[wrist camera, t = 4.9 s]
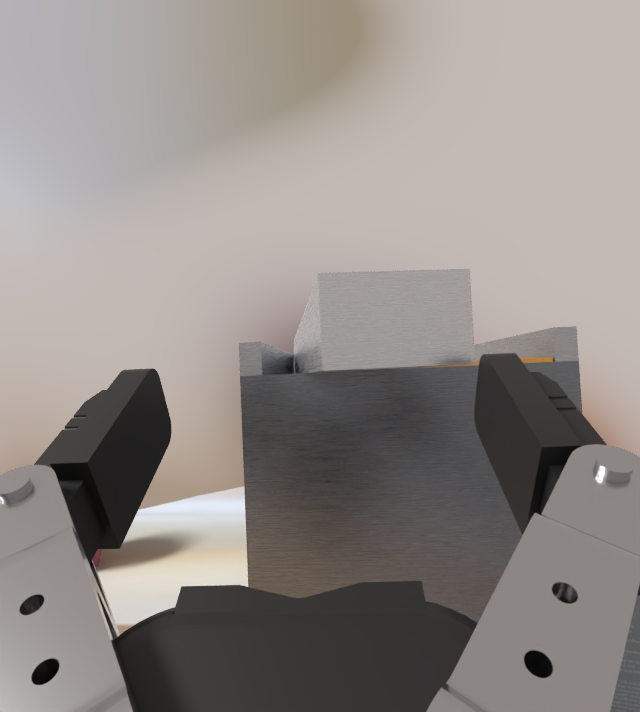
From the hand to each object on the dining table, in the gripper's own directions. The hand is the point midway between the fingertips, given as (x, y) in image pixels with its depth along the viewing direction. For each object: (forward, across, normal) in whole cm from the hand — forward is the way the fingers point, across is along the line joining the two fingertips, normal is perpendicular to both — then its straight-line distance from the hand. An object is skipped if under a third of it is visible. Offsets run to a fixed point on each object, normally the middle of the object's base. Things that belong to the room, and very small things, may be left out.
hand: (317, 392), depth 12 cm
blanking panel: (+11, -1, +6) cm, 12 cm away
